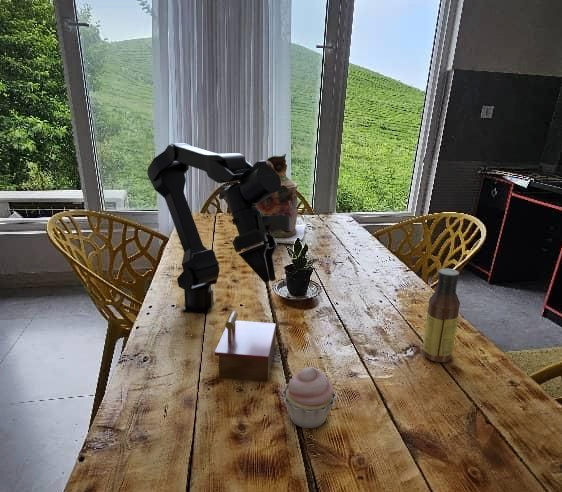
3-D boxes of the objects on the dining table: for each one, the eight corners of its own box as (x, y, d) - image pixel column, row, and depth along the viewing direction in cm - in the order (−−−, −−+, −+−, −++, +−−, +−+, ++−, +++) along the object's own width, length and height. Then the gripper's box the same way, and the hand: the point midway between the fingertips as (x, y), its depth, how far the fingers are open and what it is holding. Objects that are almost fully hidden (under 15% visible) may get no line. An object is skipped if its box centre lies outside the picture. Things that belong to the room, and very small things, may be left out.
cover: (214, 355, 85) (213, 331, 83) (228, 322, 97) (228, 301, 96) (268, 360, 84) (269, 336, 82) (275, 326, 97) (276, 305, 95)
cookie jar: (250, 224, 192) (251, 148, 180) (306, 229, 189) (311, 151, 177) (237, 241, 169) (237, 155, 157) (301, 246, 166) (306, 158, 154)
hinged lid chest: (218, 377, 87) (218, 356, 85) (232, 342, 99) (232, 323, 97) (267, 381, 86) (268, 360, 84) (275, 345, 98) (275, 326, 97)
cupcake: (319, 444, 71) (324, 392, 67) (270, 421, 75) (272, 371, 72) (344, 412, 78) (349, 364, 75) (298, 393, 83) (301, 347, 79)
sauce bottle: (451, 352, 99) (468, 268, 91) (451, 366, 93) (469, 279, 86) (420, 346, 101) (435, 264, 93) (419, 360, 95) (434, 274, 88)
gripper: (274, 189, 83) (303, 267, 82) (285, 203, 101) (309, 267, 101) (220, 210, 84) (248, 288, 84) (240, 221, 102) (263, 284, 102)
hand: (270, 281), depth 92 cm, fingers open, 9 cm apart
